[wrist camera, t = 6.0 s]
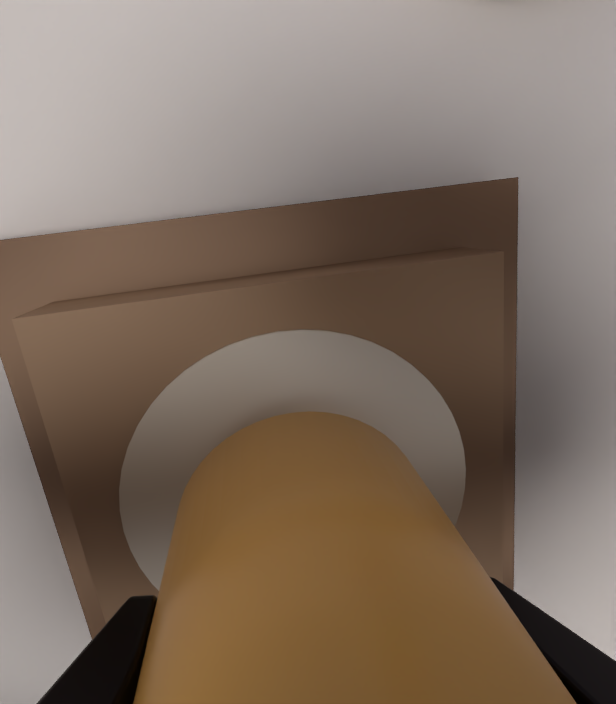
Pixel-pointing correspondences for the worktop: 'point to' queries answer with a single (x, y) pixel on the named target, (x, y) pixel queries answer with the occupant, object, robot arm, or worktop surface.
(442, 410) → the walnut plinth
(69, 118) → the worktop surface
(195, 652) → the amber jar
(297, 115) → the worktop surface
